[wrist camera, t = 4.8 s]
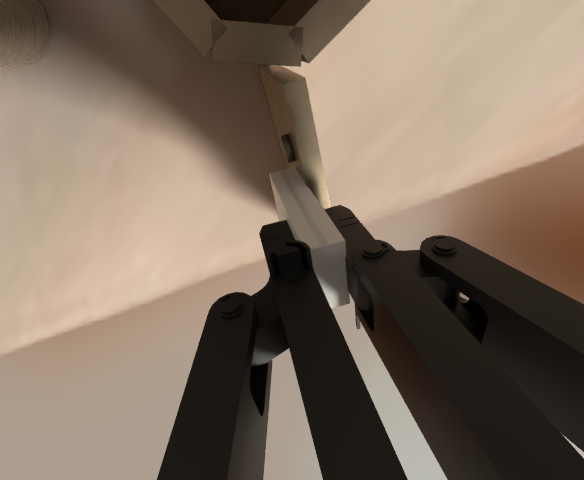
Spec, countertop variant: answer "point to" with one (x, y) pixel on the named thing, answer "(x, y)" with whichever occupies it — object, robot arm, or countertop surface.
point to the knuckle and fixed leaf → (263, 30)
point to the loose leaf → (295, 127)
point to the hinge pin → (22, 32)
